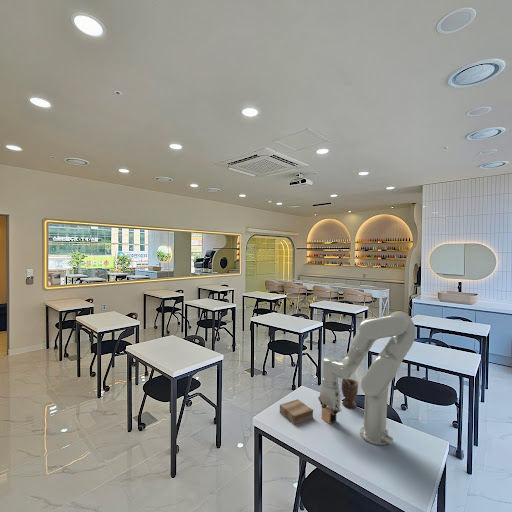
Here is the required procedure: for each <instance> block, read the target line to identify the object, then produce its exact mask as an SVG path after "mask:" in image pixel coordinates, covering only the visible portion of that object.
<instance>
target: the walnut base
mask: <svg viewBox="0 0 512 512" xmlns="http://www.w3.org/2000/svg"><path fill="white" fill-rule="evenodd" d="M279 413H280V414H281V415H282V417H283V416H284V417H285V418H286V419H287V420H288V421H289V422H290V423H291V424H293V425H297V424H300V423H302V422H305V421H308V420H311V419H313V417H314V410H313V409H312V408H311V407H309V406H308V405H306V404H305V403H304V402H302V401H301V400H300V399H298V398H297V399H295V400H291V401H287V402H285V403H281V404H279Z"/></svg>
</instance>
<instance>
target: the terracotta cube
mask: <svg viewBox="0 0 512 512" xmlns="http://www.w3.org/2000/svg"><path fill="white" fill-rule="evenodd" d="M333 410H334V409H333ZM334 411H335V410H334ZM331 414H332V412H331V408H330V407H329V406H327V407H325V408H321V419H322V420H324V421H325V422H326V423H327V424H332V423H333V422H331Z"/></svg>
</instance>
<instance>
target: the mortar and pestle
mask: <svg viewBox="0 0 512 512" xmlns="http://www.w3.org/2000/svg"><path fill="white" fill-rule="evenodd" d="M358 391H359V382H358V381H357V380H355V379H351V378H348V379H341V392H342V396H343V397H344V399H343V400H342V402H341V403H342V405H343V407H344V408H347V409H355V408H357V403H356V401H355V400H354V399H356V398H357V396H358V393H359V392H358Z"/></svg>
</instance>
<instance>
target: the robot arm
mask: <svg viewBox="0 0 512 512" xmlns="http://www.w3.org/2000/svg"><path fill="white" fill-rule="evenodd" d="M384 338H389V340H388V342H387V343H386V345H385V346H384V348H383V349H382V350H381V351H380V352H379V354H377V356H376V357H375V358H374V360H373V361H372V363H371V364H370V366H369V367H368V369H367V371H366V372H365V374H364V375H363V377H362V378H361V380H360V385H361V387H360V388H361V390H362V392H363V393H364V407H363V408H364V412H363V426H362V427H360V429H359V435H360V436H361V438H363V440H365V441H366V442H368V443H370V444H372V445H376V446H377V445H378V446H385V445H387V444H389V445H390V446H392V445H393V444H394V443H393V441H394V437H393V436H391V435H389V430H388V429H387V416H388V414H387V413H388V410H387V409H388V395H389V387H390V384H391V383H392V381H393V379H394V378H395V377H396V375H397V374H398V371H399V369H400V366H401V364H402V362H403V360H404V359H405V357H406V356H407V355H408V353H409V351H410V349H411V348H412V347H413V345H414V341H415V338H416V326H415V323H414V321H413V320H412V318H411V317H410V316H409V314H407V312H404V311H401V310H397V311H393V312H391V313H390V314H389V315H387V316H383V317H378V318H377V317H374V316H369V317H367V318H365V319H364V320H362V321H361V322H360V324H359V326H358V330H357V331H356V333H355V335H354V337H353V338H352V339H351V347H350V349H349V351H347V354H346V355H345V357H344V358H343V359H342V360H341V361H339V360H338V359H337V358H336V357H335V356H326V357H324V358H323V360H322V378H321V381H322V382H321V386H320V391H319V396H318V398H317V399H318V400H319V403H320V405H321V409H323V408H325V407H328V406H329V407H330V408H331V412H332V414H331V422H332V423H333V422H334V423H335V422H336V421H337V414H338V413H340V412H342V409H341V393H340V388H339V381H338V380H339V379H341V380H343V379H351V377H352V375H353V374H354V373H355V372H356V371H357V369H358V368H359V366H360V365H361V363H362V361H363V360H364V358H365V356H366V355H368V354H369V351H370V350H371V348H372V347H373V345H374V344H375V342H376V340H379V339H384ZM333 409H334V410H335V411H334V410H333Z"/></svg>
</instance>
